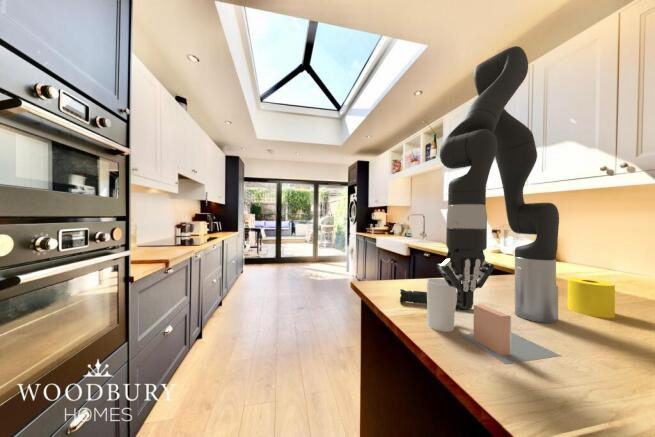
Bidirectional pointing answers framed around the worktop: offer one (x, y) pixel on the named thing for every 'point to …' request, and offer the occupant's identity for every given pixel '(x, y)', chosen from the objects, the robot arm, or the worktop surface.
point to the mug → (441, 305)
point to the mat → (516, 350)
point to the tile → (492, 329)
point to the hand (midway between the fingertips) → (464, 307)
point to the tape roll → (591, 297)
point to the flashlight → (418, 297)
